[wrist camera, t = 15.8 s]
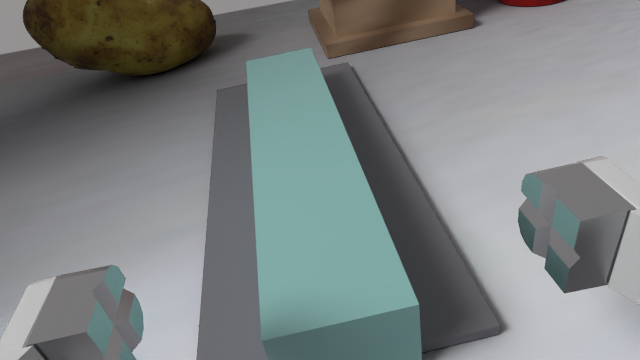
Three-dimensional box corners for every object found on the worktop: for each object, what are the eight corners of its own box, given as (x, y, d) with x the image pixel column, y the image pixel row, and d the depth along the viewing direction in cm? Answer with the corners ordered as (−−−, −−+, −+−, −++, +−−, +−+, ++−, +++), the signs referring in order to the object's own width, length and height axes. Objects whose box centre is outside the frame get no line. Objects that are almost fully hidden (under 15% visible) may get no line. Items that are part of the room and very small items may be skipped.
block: (281, 393, 13) (261, 341, 11) (255, 97, 29) (246, 61, 28) (422, 360, 13) (418, 304, 11) (317, 84, 29) (311, 47, 28)
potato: (214, 76, 34) (179, -40, 30) (48, 106, 35) (-12, -3, 30) (225, 40, 41) (198, -58, 37) (86, 66, 42) (41, -29, 37)
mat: (197, 405, 13) (193, 398, 13) (218, 95, 31) (217, 90, 31) (499, 334, 14) (500, 325, 13) (348, 67, 32) (347, 62, 31)
